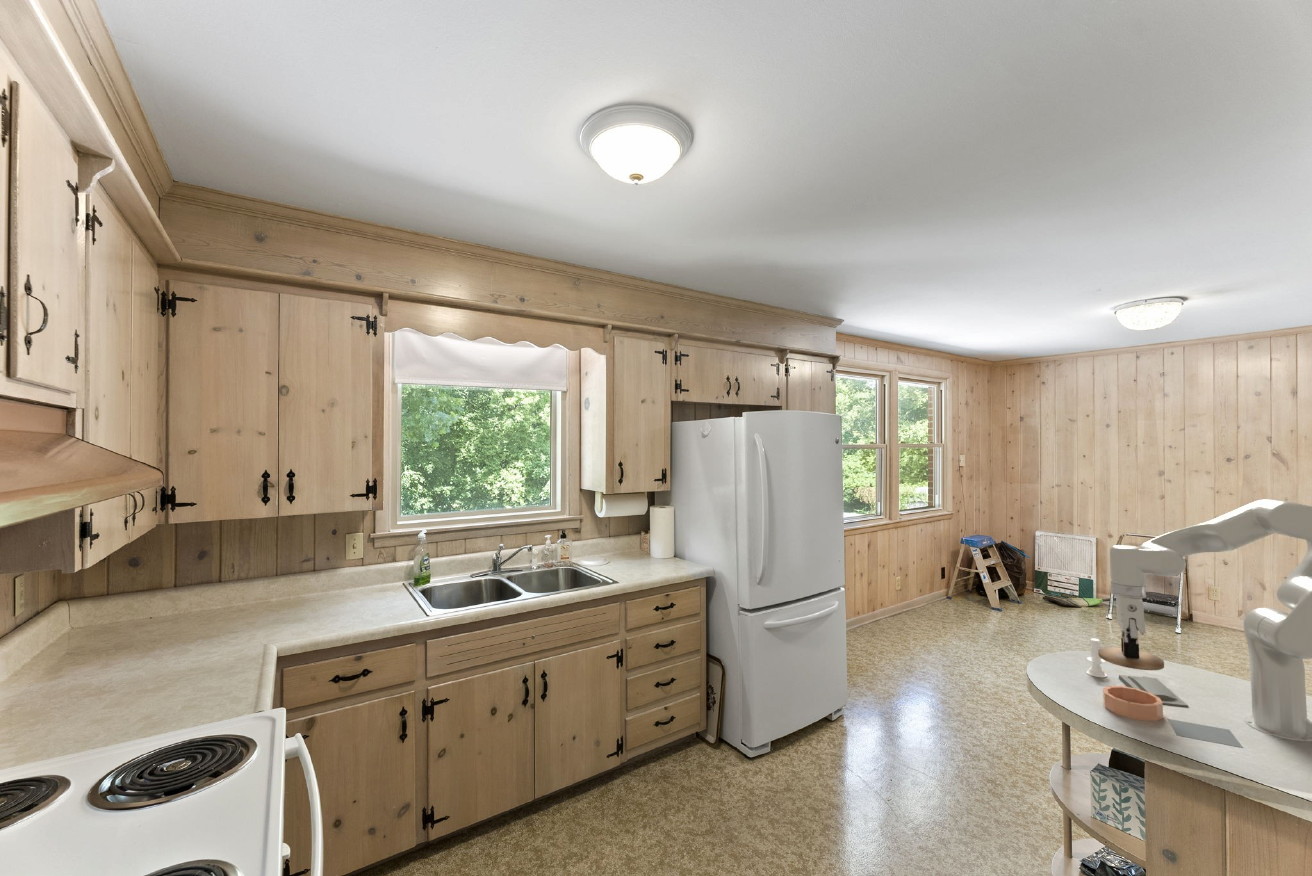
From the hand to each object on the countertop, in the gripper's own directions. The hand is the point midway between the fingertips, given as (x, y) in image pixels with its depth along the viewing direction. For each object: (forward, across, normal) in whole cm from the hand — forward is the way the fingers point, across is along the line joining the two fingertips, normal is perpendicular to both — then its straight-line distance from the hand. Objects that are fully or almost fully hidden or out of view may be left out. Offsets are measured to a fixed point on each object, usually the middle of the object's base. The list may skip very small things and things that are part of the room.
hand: (1130, 654), depth 155 cm
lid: (+2, 0, 0) cm, 2 cm away
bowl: (+17, 0, 0) cm, 17 cm away
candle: (+17, +28, +5) cm, 33 cm away
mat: (+16, -7, -13) cm, 22 cm away
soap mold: (+17, +18, -7) cm, 26 cm away
